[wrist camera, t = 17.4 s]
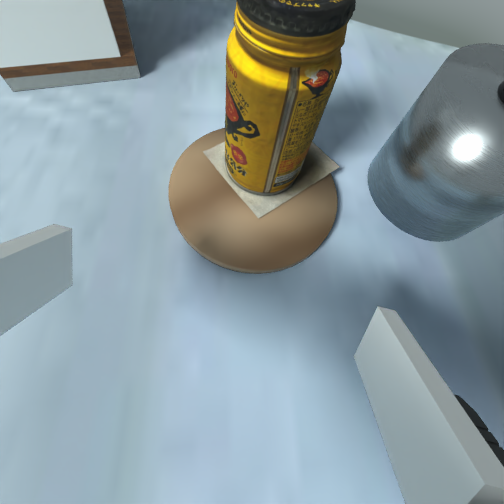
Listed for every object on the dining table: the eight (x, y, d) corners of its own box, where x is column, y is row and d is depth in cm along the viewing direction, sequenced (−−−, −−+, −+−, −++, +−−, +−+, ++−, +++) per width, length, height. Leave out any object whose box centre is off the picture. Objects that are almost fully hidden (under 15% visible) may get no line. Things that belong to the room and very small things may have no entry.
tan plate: (364, 224, 23) (370, 218, 22) (224, 307, 19) (224, 304, 18) (275, 115, 26) (277, 106, 25) (142, 168, 23) (139, 160, 22)
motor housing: (500, 208, 25) (678, 107, 15) (424, 262, 22) (583, 180, 12) (421, 130, 28) (530, 2, 18) (344, 169, 25) (423, 42, 15)
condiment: (202, 153, 23) (185, -51, 12) (283, 113, 25) (331, -85, 14) (257, 220, 21) (299, 53, 10) (338, 169, 23) (443, -8, 12)
